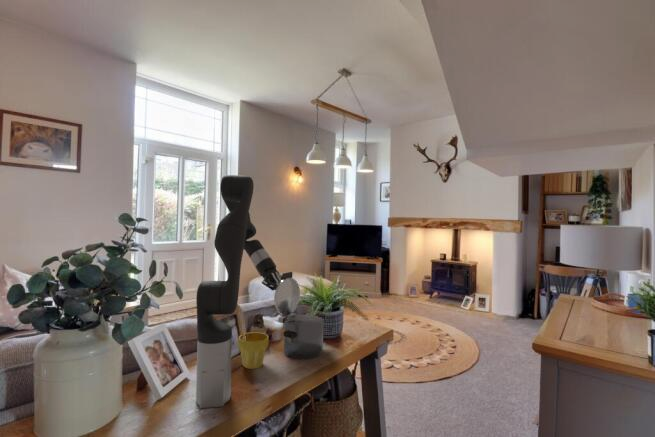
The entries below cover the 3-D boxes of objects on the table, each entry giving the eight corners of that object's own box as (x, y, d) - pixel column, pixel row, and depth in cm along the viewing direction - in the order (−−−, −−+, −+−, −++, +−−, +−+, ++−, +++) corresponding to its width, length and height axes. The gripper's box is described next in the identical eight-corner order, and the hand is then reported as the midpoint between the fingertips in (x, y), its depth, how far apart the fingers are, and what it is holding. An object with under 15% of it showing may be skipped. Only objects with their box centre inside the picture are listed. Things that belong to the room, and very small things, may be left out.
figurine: (260, 338, 146) (261, 309, 146) (269, 343, 141) (270, 313, 141) (245, 341, 141) (246, 312, 141) (254, 347, 136) (255, 316, 136)
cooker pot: (333, 347, 137) (333, 316, 137) (303, 365, 121) (304, 330, 121) (299, 338, 146) (299, 309, 146) (267, 353, 130) (268, 321, 130)
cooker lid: (299, 270, 143) (295, 270, 144) (276, 275, 131) (272, 274, 132) (299, 311, 143) (295, 310, 144) (276, 319, 131) (272, 318, 132)
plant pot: (273, 360, 124) (273, 333, 123) (259, 373, 114) (260, 343, 114) (247, 356, 127) (247, 330, 126) (231, 368, 117) (232, 339, 117)
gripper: (257, 258, 137) (280, 294, 131) (278, 255, 148) (300, 288, 142) (246, 270, 140) (268, 305, 134) (268, 266, 151) (289, 298, 145)
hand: (285, 296), depth 138 cm, fingers closed
